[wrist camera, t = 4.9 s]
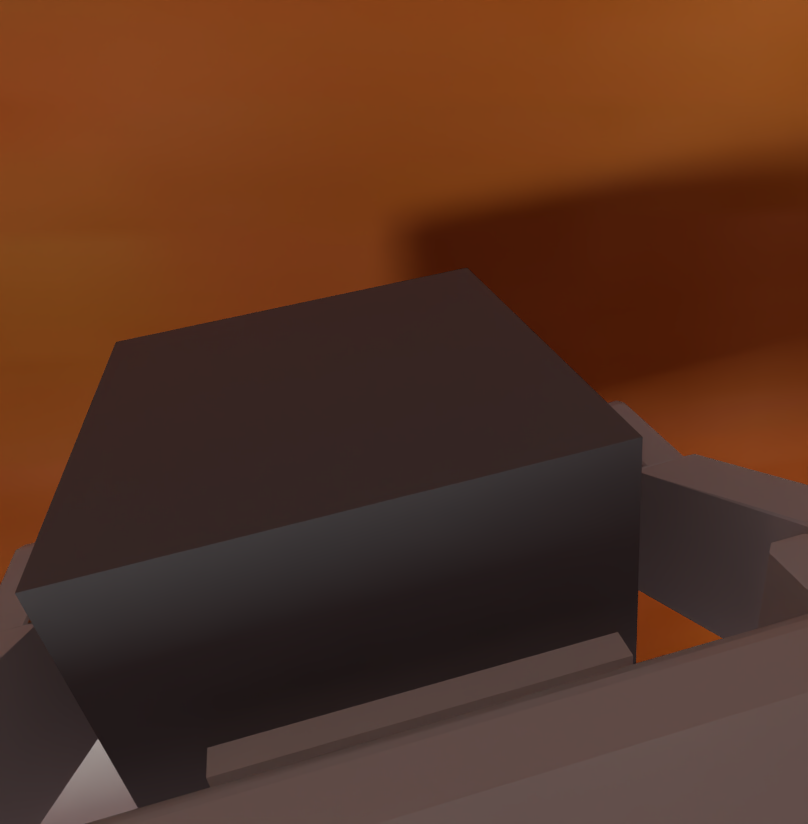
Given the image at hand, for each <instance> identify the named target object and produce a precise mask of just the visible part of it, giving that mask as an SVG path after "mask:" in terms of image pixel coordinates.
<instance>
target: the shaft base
mask: <svg viewBox="0 0 808 824" xmlns="http://www.w3.org/2000/svg"><path fill="white" fill-rule="evenodd" d="M137 808H138V807H137V806H136V804H135V802H134V800H133V799H132V797H131V795H130V793H129V792H128V790H127V788H126V786H125V785H124V783H123V781H122V779H121V778H120V776H119V774H118V772H117V771H116V769H115V767H114V765H113V764H112V762H111V760H110V758H109V757H108V755H107V753H106V752H105V750H104V748H103V746H102V745H101V743H100V741H99V739H98V740H97V741H96V742H95V744H94V745H93V747H92V748H91V750H90V751H89V753H88V754H87V756H86V757H85V759H84V760H83V762H82V763H81V765H80V766H79V768H78V769H77V771H76V772H75V773H74V775H73V776H72V778H71V779H70V781H69V782H68V784H67V785H66V787H65V788H64V790H63V791H62V793H61V794H60V796H59V797H58V799H57V800H56V802H55V803H54V805H53V806H52V807H51V809H50V810H49V812H48V813H47V815H46V816H45V818H44V819H43V821H42V822H41V824H85V823H89V822H92V821H96V820H99V819H103V818H106V817H109V816H113V815H116V814H120V813H123V812H127V811H130V810H134V809H137Z"/></svg>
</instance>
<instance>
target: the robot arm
mask: <svg viewBox="0 0 808 824" xmlns="http://www.w3.org/2000/svg"><path fill="white" fill-rule="evenodd" d="M608 404H609V405H610V406H611V407H612V408H613V409H614V410H615V411H616V412H617V413H618V414H619V415H620V416H621V417H623V418H624V419H625V420H626V421H627V422H628V423H629V424H630V425H631V426H632V427H633V428H634V429H635V430H636V431H637V432H638V433H639V434H640V435H641V436H642V437H643V443H642V476H641V509H640V542H639V574H638V590H639V591H641V592H643V593H645V594H646V595H648V596H650V597H652V598H653V599H655V600H657V601H659V602H660V603H662V604H664V605H666V606H667V607H669V608H671V609H673V610H674V611H676V612H678V613H680V614H681V615H683V616H685V617H687V618H688V619H690V620H692V621H694V622H695V623H697V624H699V625H701V626H702V627H704V628H706V629H708V630H709V631H711V632H713V633H715V634H716V635H718V636H720V637H722V638H723V639H720V640H716V641H713V642H709V643H706V644H702V645H699V646H695V647H692V648H688V649H685V650H681V651H678V652H675V653H671V654H668V655H664V656H661V657H657V658H654V659H650V660H647V661H643V662H640V663H636V664H633V665H629V666H626V667H622V668H619V669H616V670H612V671H609V672H605V673H602V674H598V675H595V676H591V677H588V678H584V679H581V680H577V681H574V682H570V683H567V684H563V685H560V686H557V687H553V688H550V689H546V690H543V691H539V692H536V693H532V694H529V695H525V696H522V697H518V698H515V699H511V700H508V701H504V702H501V703H498V704H494V705H491V706H487V707H484V708H480V709H477V710H474V711H470V712H467V713H463V714H460V715H456V716H453V717H450V718H446V719H443V720H439V721H436V722H432V723H429V724H426V725H422V726H419V727H415V728H412V729H408V730H405V731H401V732H398V733H395V734H391V735H388V736H384V737H381V738H377V739H374V740H371V741H367V742H364V743H360V744H357V745H353V746H350V747H347V748H343V749H340V750H336V751H333V752H329V753H326V754H323V755H319V756H316V757H312V758H309V759H305V760H302V761H299V762H295V763H292V764H288V765H285V766H281V767H278V768H275V769H271V770H268V771H264V772H261V773H257V774H254V775H251V776H247V777H244V778H240V779H237V780H233V781H230V782H226V783H223V784H220V785H216V786H213V787H209V788H206V789H202V790H199V791H196V792H192V793H189V794H185V795H182V796H178V797H175V798H171V799H168V800H165V801H161V802H158V803H154V804H151V805H147V806H144V807H140V808H137V809H134V810H130V811H127V812H123V813H120V814H116V815H113V816H109V817H106V818H103V819H99V820H96V821H92V822H89V823H85V824H808V485H805V484H801V483H798V482H794V481H790V480H787V479H783V478H780V477H776V476H772V475H769V474H765V473H761V472H758V471H754V470H750V469H747V468H743V467H740V466H736V465H732V464H729V463H725V462H721V461H718V460H714V459H710V458H707V457H703V456H699V455H696V454H693V455H689V456H682V455H681V454H680V453H679V452H678V451H677V450H676V449H675V448H674V447H672V446H671V445H670V444H669V443H668V442H667V441H666V440H665V439H664V438H663V437H661V436H660V435H659V434H658V433H657V432H656V431H655V430H654V429H653V428H652V427H650V426H649V425H648V424H647V423H646V422H645V421H644V420H643V419H642V418H640V417H639V416H638V415H637V414H636V413H635V412H634V411H633V410H632V409H631V408H629V407H628V406H627V405H626V404H625V403H623V402H620V401H614V402H610V403H608ZM34 544H35V543H31V544H27V545H24V546H22V547H21V548H19V549H17V550H16V551H15V553H14V555H13V558H12V560H11V562H10V565H9V567H8V569H7V571H6V574H5V576H4V578H3V580H2V583H1V585H0V824H41V822H42V821H43V819H44V818H45V816H46V815H47V813H48V812H49V810H50V809H51V807H52V806H53V805H54V803H55V802H56V800H57V799H58V797H59V796H60V794H61V793H62V791H63V790H64V788H65V787H66V785H67V784H68V782H69V781H70V779H71V778H72V776H73V775H74V773H75V772H76V771H77V769H78V768H79V766H80V765H81V763H82V762H83V760H84V759H85V757H86V756H87V754H88V753H89V751H90V750H91V748H92V747H93V745H94V744H95V742H96V741H97V740H98V738H97V736H96V734H95V732H94V731H93V729H92V727H91V725H90V724H89V722H88V720H87V718H86V717H85V715H84V713H83V711H82V710H81V708H80V706H79V704H78V703H77V701H76V699H75V697H74V696H73V694H72V692H71V690H70V689H69V687H68V685H67V684H66V682H65V680H64V678H63V677H62V675H61V673H60V671H59V670H58V668H57V666H56V664H55V663H54V661H53V659H52V657H51V656H50V654H49V652H48V650H47V649H46V647H45V645H44V643H43V642H42V640H41V638H40V636H39V635H38V633H37V631H36V629H35V628H34V626H33V624H32V622H31V621H30V619H29V617H28V615H27V614H26V612H25V610H24V609H23V607H22V605H21V603H20V602H19V600H18V598H17V596H16V595H15V591H16V589H17V586H18V584H19V581H20V579H21V577H22V574H23V572H24V569H25V567H26V564H27V562H28V559H29V557H30V554H31V552H32V549H33V547H34Z"/></svg>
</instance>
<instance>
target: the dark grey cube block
mask: <svg viewBox="0 0 808 824" xmlns="http://www.w3.org/2000/svg"><path fill="white" fill-rule="evenodd" d="M642 443H643V437H642V436H641V435H640V434H639V433H638V432H637V431H636V430H635V429H634V428H633V427H632V426H631V425H630V424H629V423H628V422H627V421H626V420H625V419H624V418H623V417H621V416H620V415H619V414H618V413H617V412H616V411H615V410H614V409H613V408H612V407H611V406H610V405H609V404H608V403H607V402H606V401H605V400H604V399H603V398H602V397H601V396H600V395H599V394H598V393H597V392H596V391H595V390H593V389H592V388H591V387H590V386H589V385H588V384H587V383H586V382H585V381H584V380H583V379H582V378H581V377H580V376H579V375H578V374H577V373H576V372H575V371H574V370H573V369H572V368H571V367H570V366H569V365H568V364H567V363H565V362H564V361H563V360H562V359H561V358H560V357H559V356H558V355H557V354H556V353H555V352H554V351H553V350H552V349H551V348H550V347H549V346H548V345H547V344H546V343H545V342H544V341H543V340H542V339H541V338H540V337H538V336H537V335H536V334H535V333H534V332H533V331H532V330H531V329H530V328H529V327H528V326H527V325H526V324H525V323H524V322H523V321H522V320H521V319H520V318H519V317H518V316H517V315H516V314H515V313H514V312H513V311H512V310H510V309H509V308H508V307H507V306H506V305H505V304H504V303H503V302H502V301H501V300H500V299H499V298H498V297H497V296H496V295H495V294H494V293H493V292H492V291H491V290H490V289H489V288H488V287H487V286H486V285H485V284H484V283H482V282H481V281H480V280H479V279H478V278H477V277H476V276H475V275H474V274H473V273H472V272H471V271H470V270H469V269H468V268H463V269H459V270H454V271H449V272H444V273H440V274H435V275H430V276H426V277H421V278H416V279H411V280H407V281H402V282H397V283H393V284H388V285H383V286H378V287H374V288H369V289H364V290H360V291H355V292H350V293H345V294H341V295H336V296H331V297H327V298H322V299H317V300H312V301H308V302H303V303H298V304H294V305H289V306H284V307H279V308H275V309H270V310H265V311H261V312H256V313H251V314H246V315H242V316H237V317H232V318H228V319H223V320H218V321H213V322H209V323H204V324H199V325H195V326H190V327H185V328H180V329H176V330H171V331H166V332H162V333H157V334H152V335H147V336H143V337H138V338H133V339H129V340H124V341H119V342H116V343H115V346H114V348H113V351H112V353H111V356H110V358H109V361H108V363H107V366H106V368H105V371H104V373H103V376H102V378H101V381H100V383H99V386H98V388H97V390H96V393H95V395H94V398H93V400H92V403H91V405H90V408H89V410H88V413H87V415H86V418H85V420H84V423H83V425H82V428H81V430H80V433H79V435H78V438H77V440H76V443H75V445H74V448H73V450H72V452H71V455H70V457H69V460H68V462H67V465H66V467H65V470H64V472H63V475H62V477H61V480H60V482H59V485H58V487H57V490H56V492H55V495H54V497H53V500H52V502H51V505H50V507H49V510H48V512H47V515H46V517H45V519H44V522H43V524H42V527H41V529H40V532H39V534H38V537H37V539H36V542H35V544H34V547H33V549H32V552H31V554H30V557H29V559H28V562H27V564H26V567H25V569H24V572H23V574H22V577H21V579H20V581H19V584H18V586H17V589H16V591H15V595H16V596H17V598H18V600H19V602H20V603H21V605H22V607H23V609H24V610H25V612H26V614H27V615H28V617H29V619H30V621H31V622H32V624H33V626H34V628H35V629H36V631H37V633H38V635H39V636H40V638H41V640H42V642H43V643H44V645H45V647H46V649H47V650H48V652H49V654H50V656H51V657H52V659H53V661H54V663H55V664H56V666H57V668H58V670H59V671H60V673H61V675H62V677H63V678H64V680H65V682H66V684H67V685H68V687H69V689H70V690H71V692H72V694H73V696H74V697H75V699H76V701H77V703H78V704H79V706H80V708H81V710H82V711H83V713H84V715H85V717H86V718H87V720H88V722H89V724H90V725H91V727H92V729H93V731H94V732H95V734H96V736H97V738H98V739H99V741H100V743H101V745H102V746H103V748H104V750H105V752H106V753H107V755H108V757H109V758H110V760H111V762H112V764H113V765H114V767H115V769H116V771H117V772H118V774H119V776H120V778H121V779H122V781H123V783H124V785H125V786H126V788H127V790H128V792H129V793H130V795H131V797H132V799H133V800H134V802H135V804H136V806H137V807H138V808H140V807H144V806H147V805H151V804H154V803H158V802H161V801H165V800H168V799H171V798H175V797H178V796H182V795H185V794H189V793H192V792H196V791H199V790H202V789H206V788H209V787H213V786H216V785H220V784H223V783H226V782H230V781H233V780H237V779H240V778H244V777H247V776H251V775H254V774H257V773H261V772H264V771H268V770H271V769H275V768H278V767H281V766H285V765H288V764H292V763H295V762H299V761H302V760H305V759H309V758H312V757H316V756H319V755H323V754H326V753H329V752H333V751H336V750H340V749H343V748H347V747H350V746H353V745H357V744H360V743H364V742H367V741H371V740H374V739H377V738H381V737H384V736H388V735H391V734H395V733H398V732H401V731H405V730H408V729H412V728H415V727H419V726H422V725H426V724H429V723H432V722H436V721H439V720H443V719H446V718H450V717H453V716H456V715H460V714H463V713H467V712H470V711H474V710H477V709H480V708H484V707H487V706H491V705H494V704H498V703H501V702H504V701H508V700H511V699H515V698H518V697H522V696H525V695H529V694H532V693H536V692H539V691H543V690H546V689H550V688H553V687H557V686H560V685H563V684H567V683H570V682H574V681H577V680H581V679H584V678H588V677H591V676H595V675H598V674H602V673H605V672H609V671H612V670H616V669H619V668H622V667H626V666H629V665H633V664H636V640H637V607H638V574H639V542H640V509H641V476H642Z"/></svg>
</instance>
